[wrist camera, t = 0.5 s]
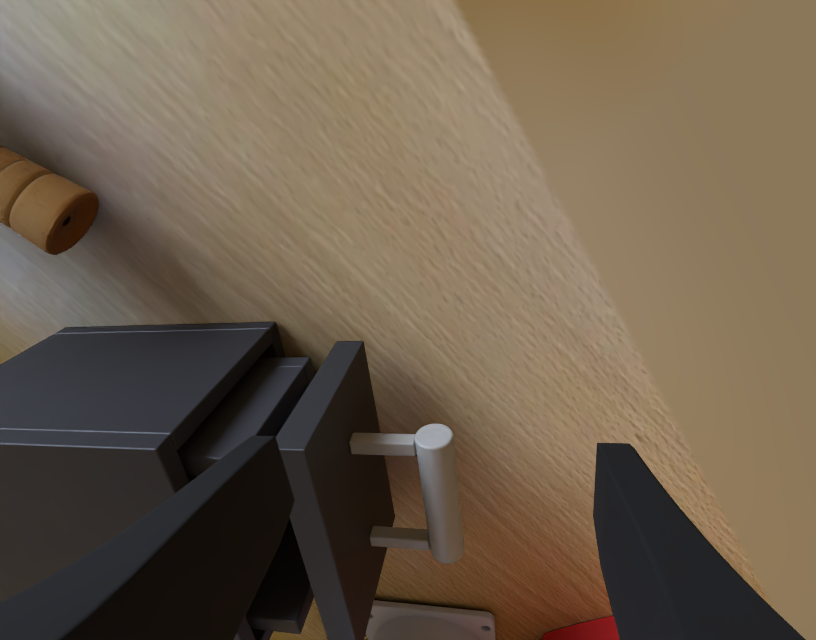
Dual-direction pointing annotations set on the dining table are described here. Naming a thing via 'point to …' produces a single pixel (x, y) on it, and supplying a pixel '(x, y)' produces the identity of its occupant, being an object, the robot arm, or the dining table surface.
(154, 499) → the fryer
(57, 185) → the kendama
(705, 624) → the robot arm
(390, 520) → the drawer
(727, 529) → the dining table surface
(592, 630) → the french fries
